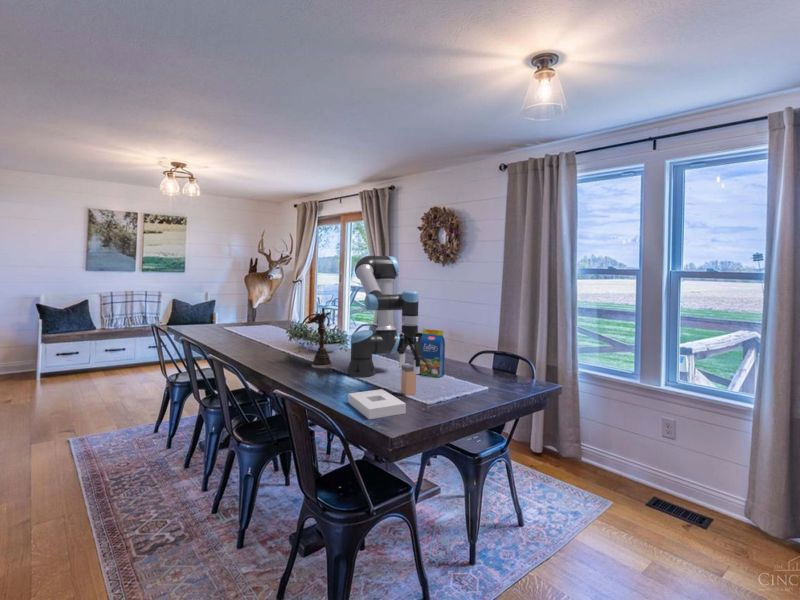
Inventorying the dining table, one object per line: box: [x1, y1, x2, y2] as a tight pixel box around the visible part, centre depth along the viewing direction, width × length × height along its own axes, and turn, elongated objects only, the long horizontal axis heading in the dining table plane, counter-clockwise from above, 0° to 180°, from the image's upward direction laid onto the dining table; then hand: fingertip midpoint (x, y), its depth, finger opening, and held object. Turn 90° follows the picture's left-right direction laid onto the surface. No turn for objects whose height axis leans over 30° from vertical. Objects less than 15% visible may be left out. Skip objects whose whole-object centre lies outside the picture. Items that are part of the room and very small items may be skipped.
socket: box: [347, 388, 407, 420], centre depth 174 cm, size 22×16×4 cm
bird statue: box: [304, 307, 332, 369], centre depth 245 cm, size 17×13×35 cm
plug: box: [400, 363, 417, 396], centre depth 195 cm, size 5×5×13 cm
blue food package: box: [419, 328, 446, 378], centre depth 228 cm, size 6×12×25 cm, turn 61°
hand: (409, 370), depth 194 cm, fingers open, 13 cm apart
